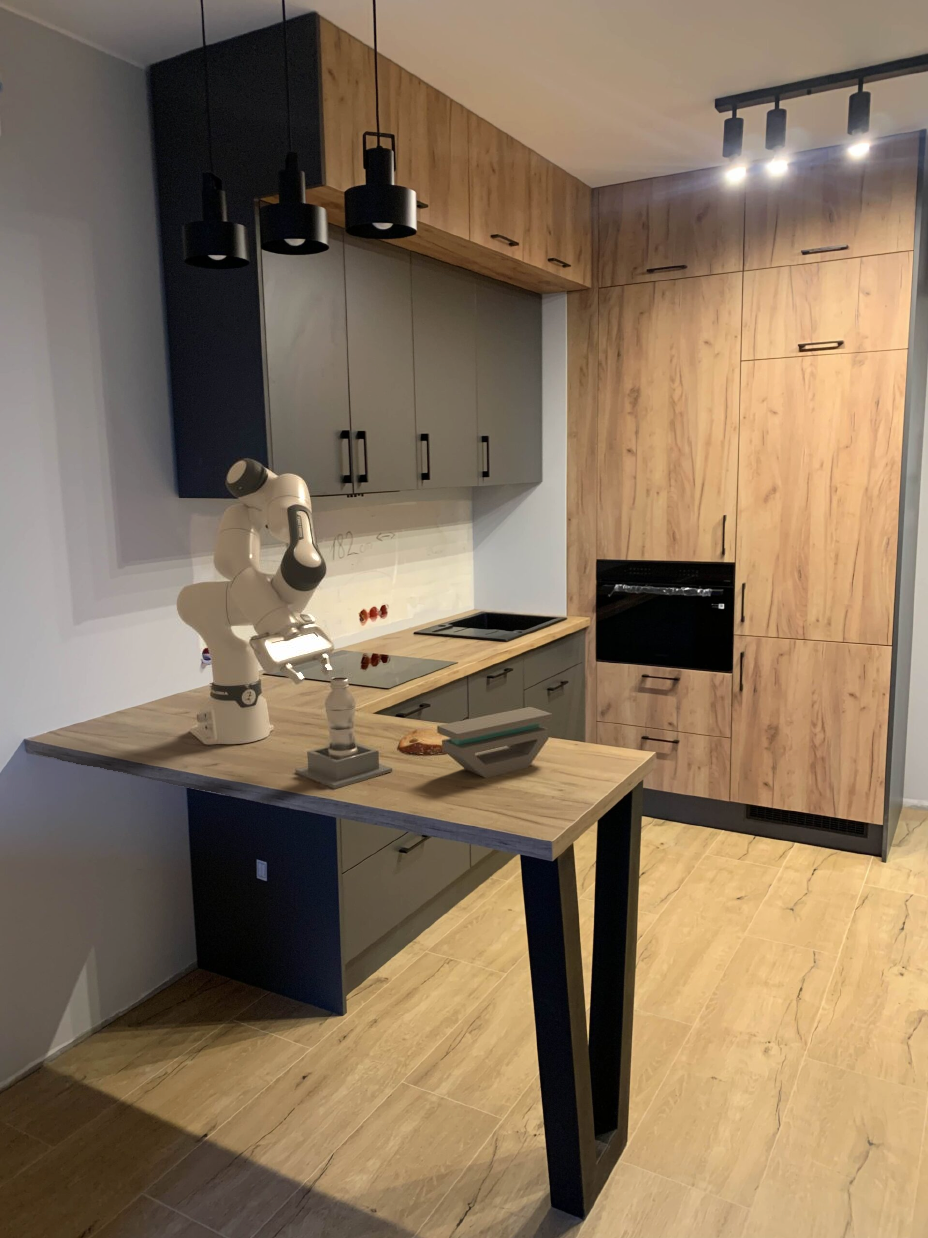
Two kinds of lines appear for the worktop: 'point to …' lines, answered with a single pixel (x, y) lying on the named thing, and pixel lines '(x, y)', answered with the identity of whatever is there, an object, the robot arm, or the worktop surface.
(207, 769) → the worktop surface
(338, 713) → the plastic bottle
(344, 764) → the holder
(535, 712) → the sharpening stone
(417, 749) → the slice of bread
